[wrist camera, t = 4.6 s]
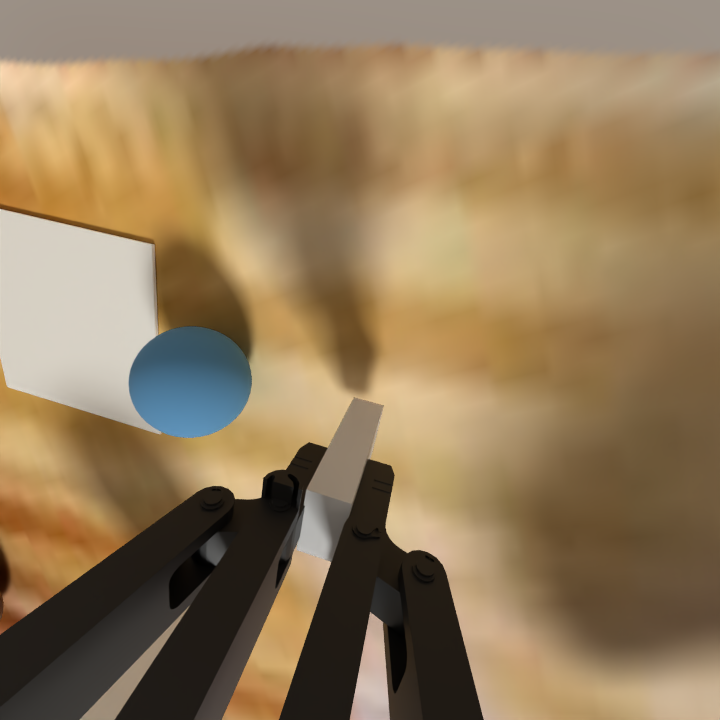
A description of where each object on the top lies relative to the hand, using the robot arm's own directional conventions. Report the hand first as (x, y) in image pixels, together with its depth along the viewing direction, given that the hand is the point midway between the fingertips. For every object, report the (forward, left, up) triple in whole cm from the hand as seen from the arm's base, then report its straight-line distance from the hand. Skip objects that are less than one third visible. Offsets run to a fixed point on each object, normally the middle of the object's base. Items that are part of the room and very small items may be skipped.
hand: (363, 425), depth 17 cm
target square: (+19, 0, -2) cm, 19 cm away
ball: (+9, 0, +1) cm, 9 cm away
